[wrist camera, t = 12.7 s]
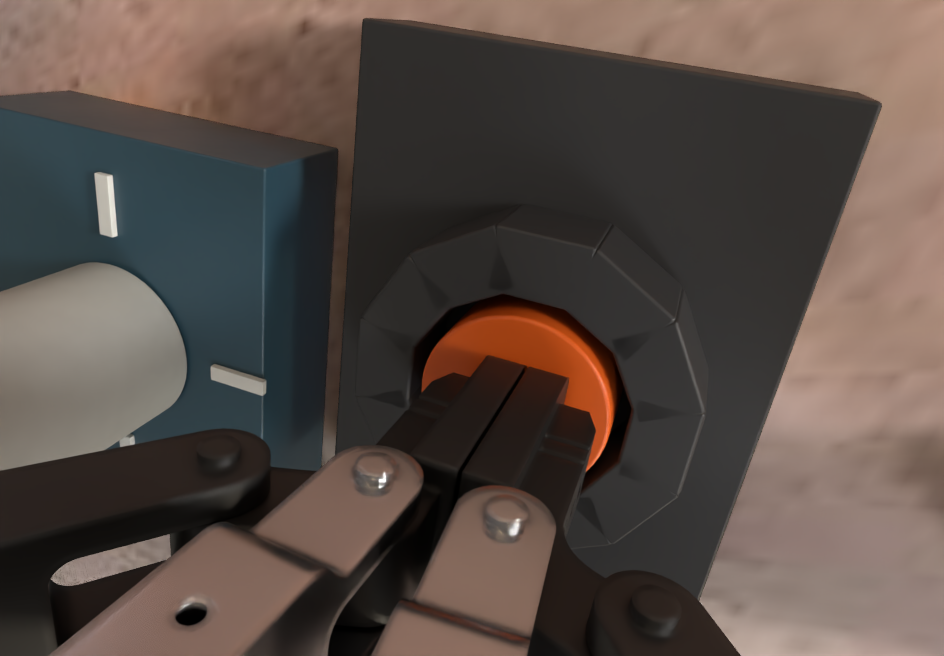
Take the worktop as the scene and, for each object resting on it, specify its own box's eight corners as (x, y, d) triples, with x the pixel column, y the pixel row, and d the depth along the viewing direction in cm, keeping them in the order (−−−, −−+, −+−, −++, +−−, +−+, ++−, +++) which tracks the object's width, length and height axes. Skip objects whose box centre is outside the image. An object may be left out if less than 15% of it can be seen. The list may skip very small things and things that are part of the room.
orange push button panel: (687, 582, 18) (676, 716, 14) (368, 475, 20) (291, 567, 16) (861, 92, 13) (910, 112, 9) (409, 19, 15) (309, 14, 11)
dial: (180, 279, 16) (-52, 380, 11) (194, 431, 17) (-4, 575, 13) (41, 247, 17) (-225, 327, 12) (66, 393, 18) (-160, 513, 14)
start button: (602, 467, 15) (587, 517, 13) (443, 418, 15) (411, 459, 14) (644, 310, 13) (632, 346, 12) (463, 265, 14) (430, 293, 12)
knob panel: (323, 487, 21) (261, 556, 18) (100, 409, 23) (13, 461, 20) (342, 148, 17) (264, 171, 14) (66, 89, 19) (-51, 98, 16)
